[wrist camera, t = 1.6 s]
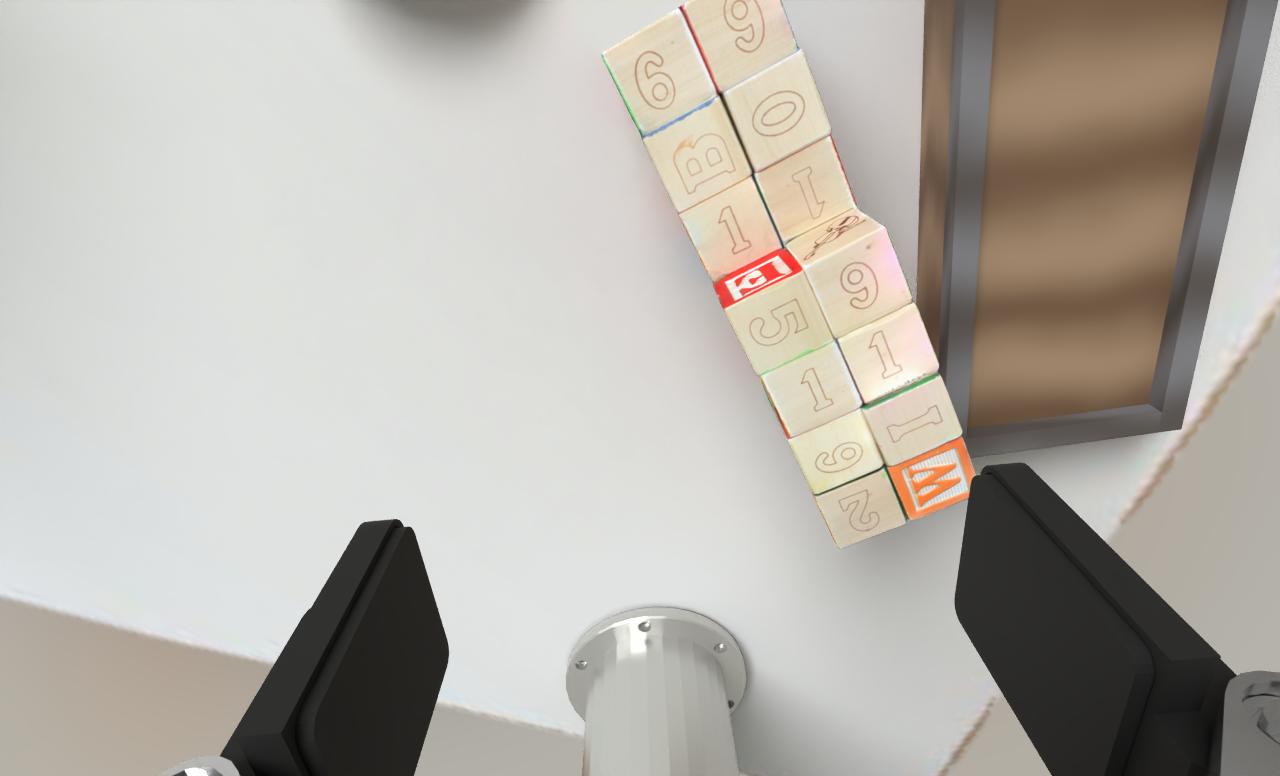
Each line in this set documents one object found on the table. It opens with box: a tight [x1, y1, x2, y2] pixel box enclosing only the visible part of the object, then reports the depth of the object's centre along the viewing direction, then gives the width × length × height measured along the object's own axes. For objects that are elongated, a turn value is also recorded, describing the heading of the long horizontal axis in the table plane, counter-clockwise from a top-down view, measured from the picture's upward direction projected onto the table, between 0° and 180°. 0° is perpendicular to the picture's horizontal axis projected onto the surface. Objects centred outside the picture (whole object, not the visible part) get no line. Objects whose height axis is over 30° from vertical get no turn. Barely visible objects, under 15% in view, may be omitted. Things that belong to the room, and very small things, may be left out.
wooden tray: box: [917, 0, 1278, 458], centre depth 31 cm, size 27×12×4 cm, turn 9°
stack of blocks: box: [601, 0, 976, 548], centre depth 29 cm, size 21×6×12 cm, turn 27°
